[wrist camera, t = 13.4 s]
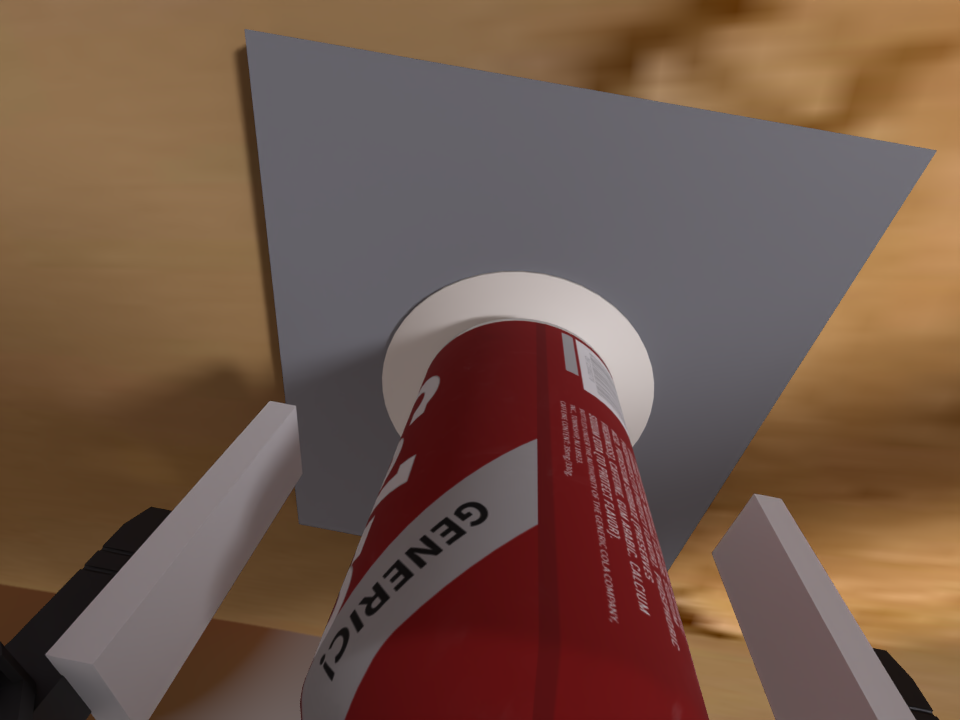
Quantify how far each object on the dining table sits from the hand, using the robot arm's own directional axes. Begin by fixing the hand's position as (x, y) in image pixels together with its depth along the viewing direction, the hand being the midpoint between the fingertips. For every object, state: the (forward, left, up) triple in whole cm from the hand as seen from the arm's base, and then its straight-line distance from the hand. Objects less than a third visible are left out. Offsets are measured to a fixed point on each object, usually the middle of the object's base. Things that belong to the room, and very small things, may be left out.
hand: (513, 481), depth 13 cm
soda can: (0, 0, -4) cm, 4 cm away
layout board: (0, 0, -5) cm, 5 cm away
